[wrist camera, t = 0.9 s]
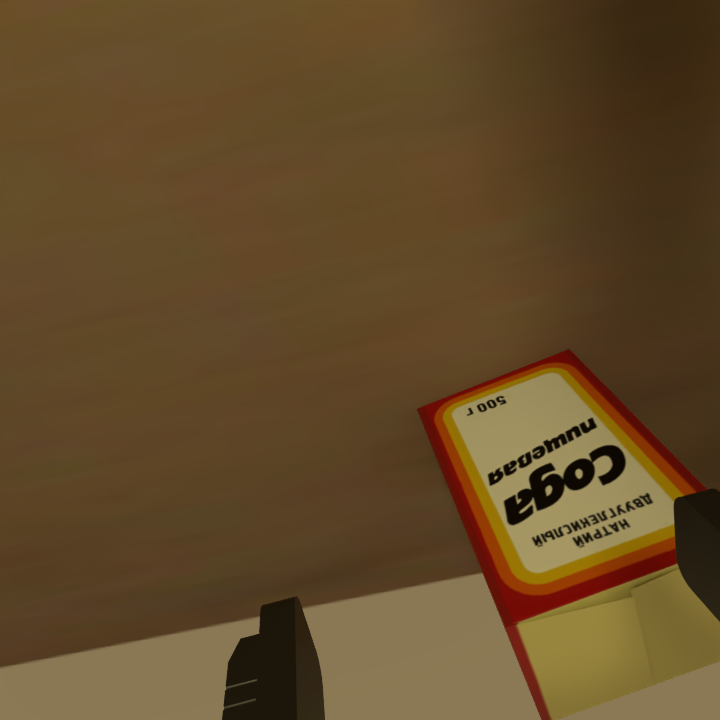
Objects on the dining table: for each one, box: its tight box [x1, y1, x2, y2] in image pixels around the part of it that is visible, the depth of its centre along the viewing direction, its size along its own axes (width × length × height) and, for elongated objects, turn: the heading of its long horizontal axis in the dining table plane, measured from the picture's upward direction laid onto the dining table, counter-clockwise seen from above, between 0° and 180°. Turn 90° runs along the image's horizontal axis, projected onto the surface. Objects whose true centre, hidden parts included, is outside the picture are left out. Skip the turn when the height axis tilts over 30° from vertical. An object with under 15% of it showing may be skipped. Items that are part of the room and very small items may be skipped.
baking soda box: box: [417, 349, 720, 720], centre depth 31 cm, size 10×6×16 cm
